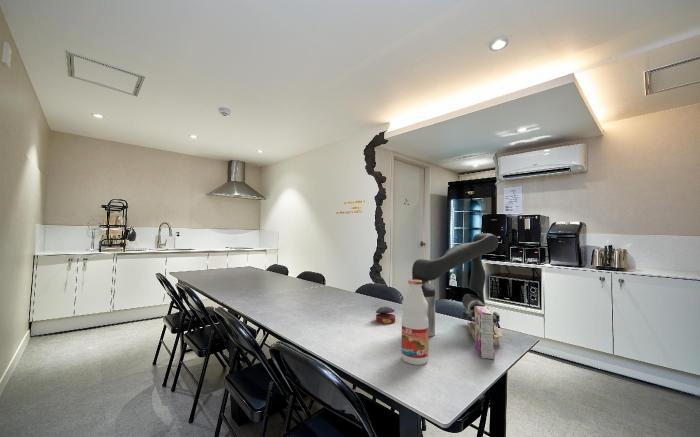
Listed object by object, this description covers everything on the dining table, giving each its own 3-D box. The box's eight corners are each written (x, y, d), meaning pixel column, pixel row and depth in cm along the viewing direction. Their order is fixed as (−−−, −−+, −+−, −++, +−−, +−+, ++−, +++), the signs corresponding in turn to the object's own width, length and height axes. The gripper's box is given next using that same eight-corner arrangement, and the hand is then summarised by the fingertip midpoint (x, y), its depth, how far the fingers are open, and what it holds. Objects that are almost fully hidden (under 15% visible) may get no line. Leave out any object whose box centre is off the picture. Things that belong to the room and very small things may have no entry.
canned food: (376, 331, 145) (367, 313, 148) (386, 324, 153) (377, 307, 156) (393, 325, 139) (384, 305, 142) (402, 318, 147) (394, 300, 150)
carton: (471, 343, 119) (471, 333, 119) (467, 330, 136) (466, 321, 136) (503, 347, 115) (503, 337, 116) (494, 333, 132) (494, 324, 133)
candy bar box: (474, 347, 115) (474, 305, 116) (487, 348, 114) (487, 306, 115) (480, 358, 104) (479, 312, 105) (495, 360, 103) (494, 313, 104)
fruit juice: (433, 360, 102) (433, 280, 104) (418, 368, 96) (419, 283, 97) (411, 352, 109) (411, 277, 110) (395, 359, 102) (396, 279, 104)
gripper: (460, 300, 133) (463, 308, 118) (494, 303, 129) (502, 312, 113) (460, 316, 133) (463, 327, 117) (494, 320, 128) (502, 331, 113)
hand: (482, 319), depth 115 cm, fingers open, 8 cm apart
